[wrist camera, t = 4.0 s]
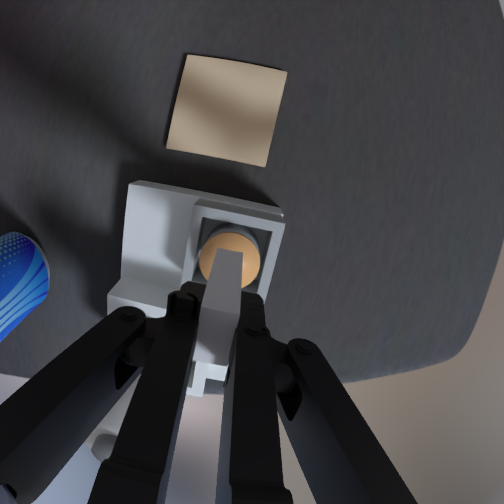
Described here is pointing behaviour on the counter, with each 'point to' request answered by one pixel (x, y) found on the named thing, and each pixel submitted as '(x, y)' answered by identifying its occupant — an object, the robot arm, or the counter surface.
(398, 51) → the counter surface
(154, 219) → the housing
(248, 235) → the tan dome
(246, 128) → the coaster
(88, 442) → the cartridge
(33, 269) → the beer can
